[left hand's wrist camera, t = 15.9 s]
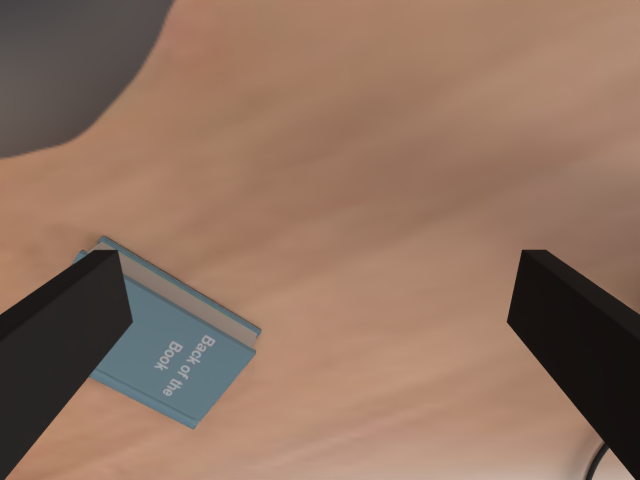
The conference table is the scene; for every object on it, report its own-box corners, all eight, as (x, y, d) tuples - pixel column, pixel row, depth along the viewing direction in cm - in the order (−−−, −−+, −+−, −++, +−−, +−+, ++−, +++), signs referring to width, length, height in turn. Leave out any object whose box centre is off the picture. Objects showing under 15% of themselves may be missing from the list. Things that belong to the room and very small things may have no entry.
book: (261, 330, 50) (255, 354, 46) (200, 405, 55) (189, 433, 50) (103, 235, 45) (79, 252, 41) (52, 326, 50) (24, 350, 45)
